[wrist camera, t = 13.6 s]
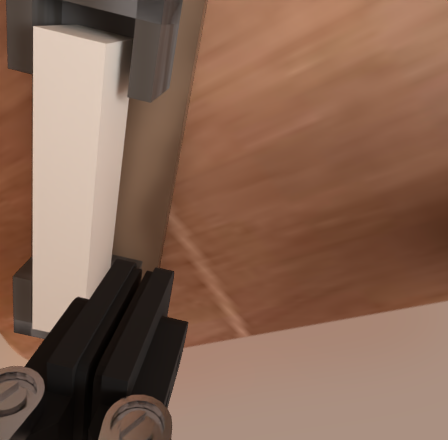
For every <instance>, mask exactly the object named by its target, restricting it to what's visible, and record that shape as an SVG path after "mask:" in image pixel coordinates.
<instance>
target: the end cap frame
mask: <svg viewBox="0 0 448 440" xmlns="http://www.w3.org/2000/svg"><path fill="white" fill-rule="evenodd" d="M207 1H208V0H6V11H7V54H8V69H13V70H17V71H21V72H25V73H29V74H32V257H31V258H30V259H29V260H28V261H27V262H26V263H25V264H24V265H23V266H22V267H21V268H20V269H19V270H18V271H17V272H16V274H15V275H14V276H13V312H14V332H15V333H19V334H24V335H29V336H33V337H38V338H42V339H45V338H46V337H47V335H48V334H49V333H50V332H45V331H40V330H36V329H32V306H33V26H49V25H81V26H85V27H89V28H93V29H97V30H102V31H106V32H110V33H114V34H118V35H122V36H126V37H130V38H134V39H133V48H132V57H131V66H130V76H129V85H128V94H127V97H128V98H129V103H128V112H127V121H126V130H125V139H124V149H123V158H122V167H121V176H120V185H119V194H118V203H117V212H116V222H115V231H114V240H113V249H112V258H111V266H112V265H113V263H114V262H115V260H116V259H122V260H126V261H131V262H135V263H136V264H137V268H139V269H142V279H143V277H144V275H145V273H146V271H147V270H148V271H152V272H153V270H154V269H155V267H157V268H160V263H161V257H162V252H163V246H164V241H165V235H166V229H167V224H168V218H169V213H170V207H171V201H172V196H173V190H174V185H175V179H176V174H177V168H178V162H179V157H180V151H181V146H182V140H183V135H184V129H185V123H186V118H187V112H188V107H189V101H190V96H191V90H192V84H193V79H194V73H195V68H196V62H197V56H198V51H199V45H200V40H201V34H202V29H203V23H204V17H205V12H206V6H207ZM110 268H111V267H110ZM142 279H141V281H142Z"/></svg>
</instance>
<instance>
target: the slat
mask: <svg viewBox="0 0 448 440" xmlns="http://www.w3.org/2000/svg"><path fill="white" fill-rule="evenodd" d="M133 39H134V38H130V37H126V36H122V35H118V34H114V33H110V32H106V31H102V30H97V29H93V28H89V27H85V26H81V25H49V26H33V306H32V329H36V330H40V331H45V332H50V331H51V330H52V328H53V327H54V326H55V324H56V323H57V322H58V320H59V319H60V317H61V316H62V315H63V313H64V312H65V311H66V309H67V308H68V307H69V305H70V304H71V302H72V301H73V300H74V299H75V298H76V297H82V298H86V299H90V297H91V296H92V294H93V293H94V291H95V290H96V288H97V287H98V285H99V284H100V282H101V281H102V279H103V278H104V276H105V275H106V273H107V272H108V271H109V269H110V267H111V258H112V249H113V240H114V231H115V222H116V212H117V203H118V194H119V185H120V176H121V167H122V158H123V149H124V139H125V130H126V121H127V112H128V103H129V98H128V97H127V94H128V85H129V76H130V66H131V57H132V48H133Z"/></svg>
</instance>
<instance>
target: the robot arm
mask: <svg viewBox="0 0 448 440" xmlns="http://www.w3.org/2000/svg"><path fill="white" fill-rule="evenodd" d="M173 278H174V271H170V270H166V269H161V268H157V267H155V269H154V270H153V272H152V271H148V270H147V271H146V273H145V275H144V277H143V279H142V269H139V268H137V264H136V263H135V262H131V261H126V260H122V259H116V260H115V262H114V263H113V265H112V266H111V268H110V269H109V271H108V272H107V273H106V275H105V276H104V278H103V279H102V281H101V282H100V284H99V285H98V287H97V288H96V290H95V291H94V293H93V294H92V296H91V297H90V299H86V298H82V297H76V298H75V299H74V300H73V301H72V302H71V304H70V305H69V307H68V308H67V309H66V311H65V312H64V313H63V315H62V316H61V317H60V319H59V320H58V322H57V323H56V324H55V326H54V327H53V328H52V330H51V331H50V333H49V334H48V335H47V337H46V338H45V339H44V341H43V342H42V344H41V345H40V346H39V348H38V349H37V350H36V352H35V353H34V355H33V356H32V357H31V359H30V360H29V361H28V363H27V364H26V366H25V367H22V366H14V367H13V366H11V367H6V368H3V369H0V440H171V434H172V419H171V415H170V413H169V411H168V409H167V408H168V404H169V400H170V397H171V393H172V390H173V386H174V382H175V379H176V375H177V372H178V368H179V364H180V360H181V356H182V352H183V347H184V343H185V338H186V333H187V328H188V322H186V321H182V320H177V319H173V318H169V317H167V315H168V308H169V302H170V296H171V290H172V284H173ZM141 279H142V281H141Z"/></svg>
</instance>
